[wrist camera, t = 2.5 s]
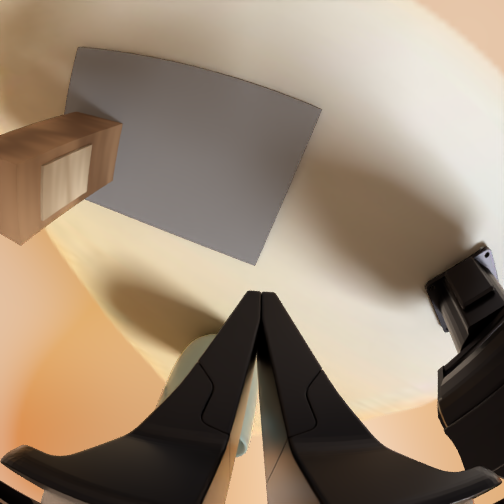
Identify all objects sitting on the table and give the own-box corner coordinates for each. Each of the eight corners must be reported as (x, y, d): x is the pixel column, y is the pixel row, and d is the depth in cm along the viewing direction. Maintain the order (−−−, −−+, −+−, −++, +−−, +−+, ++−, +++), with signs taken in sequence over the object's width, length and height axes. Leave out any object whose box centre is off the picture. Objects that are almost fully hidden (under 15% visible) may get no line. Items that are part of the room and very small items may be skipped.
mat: (321, 109, 17) (321, 109, 17) (255, 262, 23) (254, 265, 23) (81, 47, 16) (78, 47, 16) (60, 186, 23) (57, 188, 22)
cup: (174, 323, 28) (132, 409, 20) (252, 316, 26) (229, 417, 18) (203, 375, 32) (177, 453, 23) (273, 372, 30) (259, 461, 21)
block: (125, 124, 19) (19, 165, 10) (114, 181, 21) (23, 247, 13) (76, 111, 19) (-29, 147, 10) (69, 165, 21) (-24, 219, 13)
